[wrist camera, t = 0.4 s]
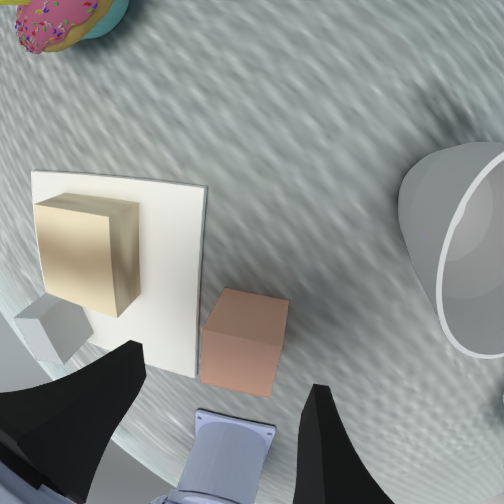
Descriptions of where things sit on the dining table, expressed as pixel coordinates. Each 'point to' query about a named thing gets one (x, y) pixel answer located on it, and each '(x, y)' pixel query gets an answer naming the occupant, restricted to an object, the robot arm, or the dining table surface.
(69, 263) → the maple block
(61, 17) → the cupcake
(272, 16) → the dining table surface
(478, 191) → the cup
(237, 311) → the terracotta block
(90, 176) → the board
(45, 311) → the grey block
